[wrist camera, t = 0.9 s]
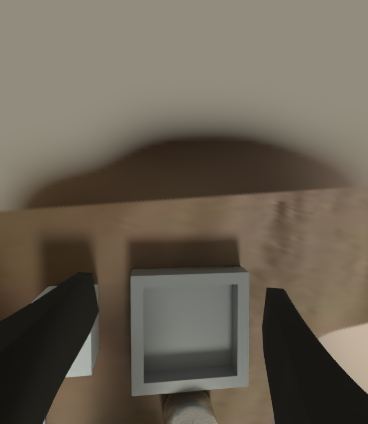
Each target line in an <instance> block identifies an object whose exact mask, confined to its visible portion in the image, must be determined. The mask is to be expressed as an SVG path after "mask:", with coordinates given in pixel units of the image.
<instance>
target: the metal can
mask: <svg viewBox="0 0 368 424" xmlns="http://www.w3.org/2000/svg"><path fill="white" fill-rule="evenodd" d="M163 415H164V424H218V423H217V420H216V417H215V414H214V411H213V408H212V405H211V402H210V399H209V397H208V395H207V394H206V392H205V391H204V390H200V391H189V392H177V393H171V394H170V395H169V396H168V397H167V399H166V401H165V404H164V408H163Z"/></svg>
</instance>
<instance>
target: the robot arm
mask: <svg viewBox="0 0 368 424" xmlns="http://www.w3.org/2000/svg"><path fill="white" fill-rule="evenodd" d="M98 312H99V308H98V303H97V297H96V292H95V286H94V280H93V275H92V273H82V272H79V273H77V274H75V275H73V276H72V277H70V278H69V279H67V280H66V281H64V282H63V283H61V284H60V285H58V286H57V287H55V288H54V289H52V290H51V291H49V292H48V293H46V294H45V295H43V296H42V297H40V298H39V299H37V300H35V301H34V302H32V303H31V304H29V305H27V306H26V307H24V308H22V309H21V310H19V311H17V312H16V313H14V314H12V315H11V316H9V317H7V318H6V319H4V320H2V321H0V424H46V416H47V413H48V411H49V409H50V407H51V404H52V402H53V400H54V398H55V396H56V393H57V392H58V390H59V388H60V386H61V384H62V382H63V380H64V378H65V377H66V375H67V373H68V371H69V370H70V368H71V366H72V364H73V363H74V361H75V359H76V357H77V356H78V354H79V352H80V350H81V348H82V347H83V345H84V343H85V341H86V339H87V338H88V336H89V334H90V332H91V329H92V327H93V325H94V322H95V320H96V317H97V315H98ZM262 333H263V351H264V358H265V364H266V370H267V376H268V382H269V388H270V394H271V400H272V406H273V412H274V419H275V424H368V394H367V393H366V392H364V390H363V389H362V388H361V387H360V386H358V385H357V383H356V382H354V380H353V379H352V378H350V376H349V375H348V374H347V373H346V372H345V371H344V370H343V369H342V368H341V367H340V366H339V364H338V363H337V362H336V361H335V360H334V359H333V358H332V356H331V355H330V354H329V353H328V352H327V350H326V349H325V348H324V347H323V345H322V344H321V343H320V342H319V340H318V339H317V338H316V337H315V335H314V334H313V333H312V331H311V330H310V328H309V327H308V326H307V324H306V323H305V321H304V320H303V319H302V317H301V316H300V314H299V313H298V311H297V310H296V308H295V306H294V305H293V303H292V302H291V300H290V298H289V297H288V295H287V293H286V291H285V290H284V289H279V288H267V290H266V299H265V307H264V316H263V325H262Z"/></svg>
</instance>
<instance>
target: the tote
mask: <svg viewBox="0 0 368 424" xmlns="http://www.w3.org/2000/svg"><path fill="white" fill-rule="evenodd" d="M131 380H132V396H143V395H154V394H166V393H177V392H189V391H200V390H212V389H223V388H235V387H246V386H248V380H249V272H248V271H247V270H245V269H244V268H242V267H241V266H219V267H188V268H157V269H132V271H131Z"/></svg>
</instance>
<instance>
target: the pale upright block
mask: <svg viewBox="0 0 368 424" xmlns="http://www.w3.org/2000/svg"><path fill="white" fill-rule="evenodd" d="M94 286H95V292H96V297H97V303H98V308H99V295H98V284H94ZM55 287H57V286H48V287H47V288H46V289H45V290H44V291H43V292H42V293H41V294H40V295H39V296H38V297H36V298H35V299H34V300H33V301H32V302H34V301H35V300H37V299H39V298H40V297H42V296H43V295H45V294H46V293H48V292H49V291H51V290H52V289H54V288H55ZM98 352H99V312H98V315H97V317H96V320H95V322H94V325H93V327H92V329H91V332H90V334H89V336H88V338H87V339H86V341H85V343H84V345H83V347H82V348H81V350H80V352H79V354H78V356H77V357H76V359H75V361H74V363H73V364H72V366H71V368H70V370H69V371H68V373H67V375H66V377H76V376H89V375H92V372H93V369H94V365H95V362H96V358H97V355H98Z"/></svg>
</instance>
